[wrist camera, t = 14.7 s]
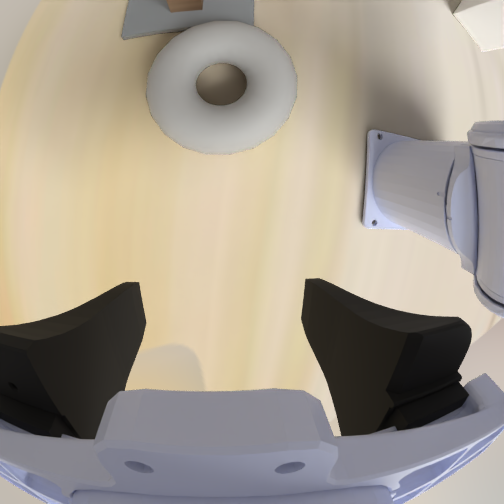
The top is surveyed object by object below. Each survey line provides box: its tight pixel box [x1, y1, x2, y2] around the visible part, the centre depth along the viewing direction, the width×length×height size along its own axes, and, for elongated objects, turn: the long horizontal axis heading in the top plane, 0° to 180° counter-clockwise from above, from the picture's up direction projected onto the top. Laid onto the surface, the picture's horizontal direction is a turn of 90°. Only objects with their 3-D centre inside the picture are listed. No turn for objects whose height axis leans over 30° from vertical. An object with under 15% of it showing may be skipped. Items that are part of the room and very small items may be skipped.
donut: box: [146, 21, 297, 155], centre depth 15 cm, size 10×4×10 cm
